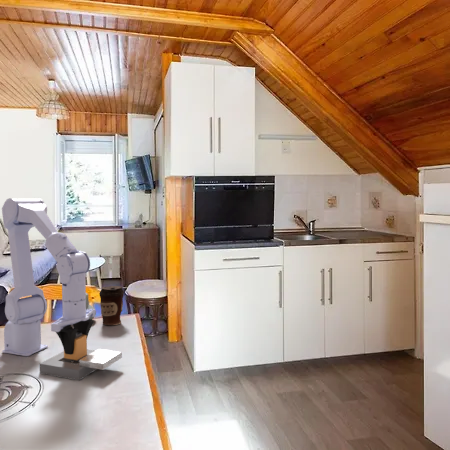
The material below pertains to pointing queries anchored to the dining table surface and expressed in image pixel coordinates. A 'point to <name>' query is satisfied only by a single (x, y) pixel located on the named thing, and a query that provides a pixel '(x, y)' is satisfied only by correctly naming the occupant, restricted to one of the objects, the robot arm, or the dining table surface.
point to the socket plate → (65, 367)
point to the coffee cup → (111, 304)
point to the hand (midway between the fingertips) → (75, 350)
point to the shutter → (100, 359)
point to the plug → (78, 347)
